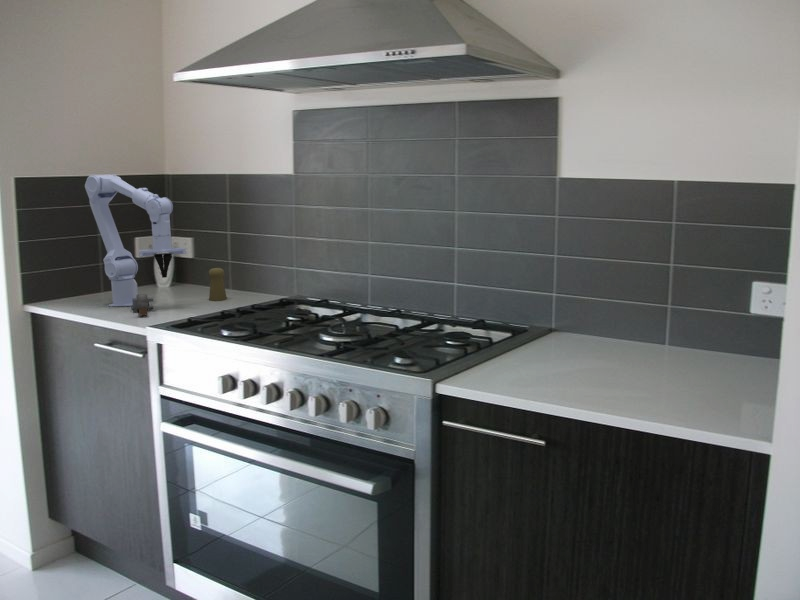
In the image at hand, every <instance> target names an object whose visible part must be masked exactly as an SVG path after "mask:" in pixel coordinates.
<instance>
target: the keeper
mask: <svg viewBox="0 0 800 600" xmlns="http://www.w3.org/2000/svg"><path fill="white" fill-rule="evenodd" d="M147 298H148V302H149V303H153V302H155V301H154V297H153V296H150V297H149V296H147ZM132 301H133V310H132V313H133V314H135V313H138V311H137V298H132Z"/></svg>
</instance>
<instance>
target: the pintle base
mask: <svg viewBox="0 0 800 600" xmlns="http://www.w3.org/2000/svg"><path fill="white" fill-rule="evenodd" d="M130 308H131V310H132V311H133V306H130ZM153 309H154V305H153V304H149V306H148V308H147V311H150V310H153ZM137 312H139V308H137Z"/></svg>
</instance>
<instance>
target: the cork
mask: <svg viewBox="0 0 800 600" xmlns="http://www.w3.org/2000/svg"><path fill="white" fill-rule="evenodd" d="M208 276H209V278H210V282H209V295H208V296H209V298H208V300H209V301H211V302H223V301H226V300H227V299H228V298H227V293H226V286H225V282H224V281H225V280H224V276H225V270H224V269H223V268H221V267H214V268H210V269H209V270H208Z"/></svg>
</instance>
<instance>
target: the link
mask: <svg viewBox="0 0 800 600" xmlns="http://www.w3.org/2000/svg"><path fill="white" fill-rule="evenodd" d="M136 296H137V308H139V311H138V315H139V316H146V315H147V316H148V310H147V308H148V306H149V305H150V302H148V298H147V297H148V294H147V293H140V294H138V295H136Z"/></svg>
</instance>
